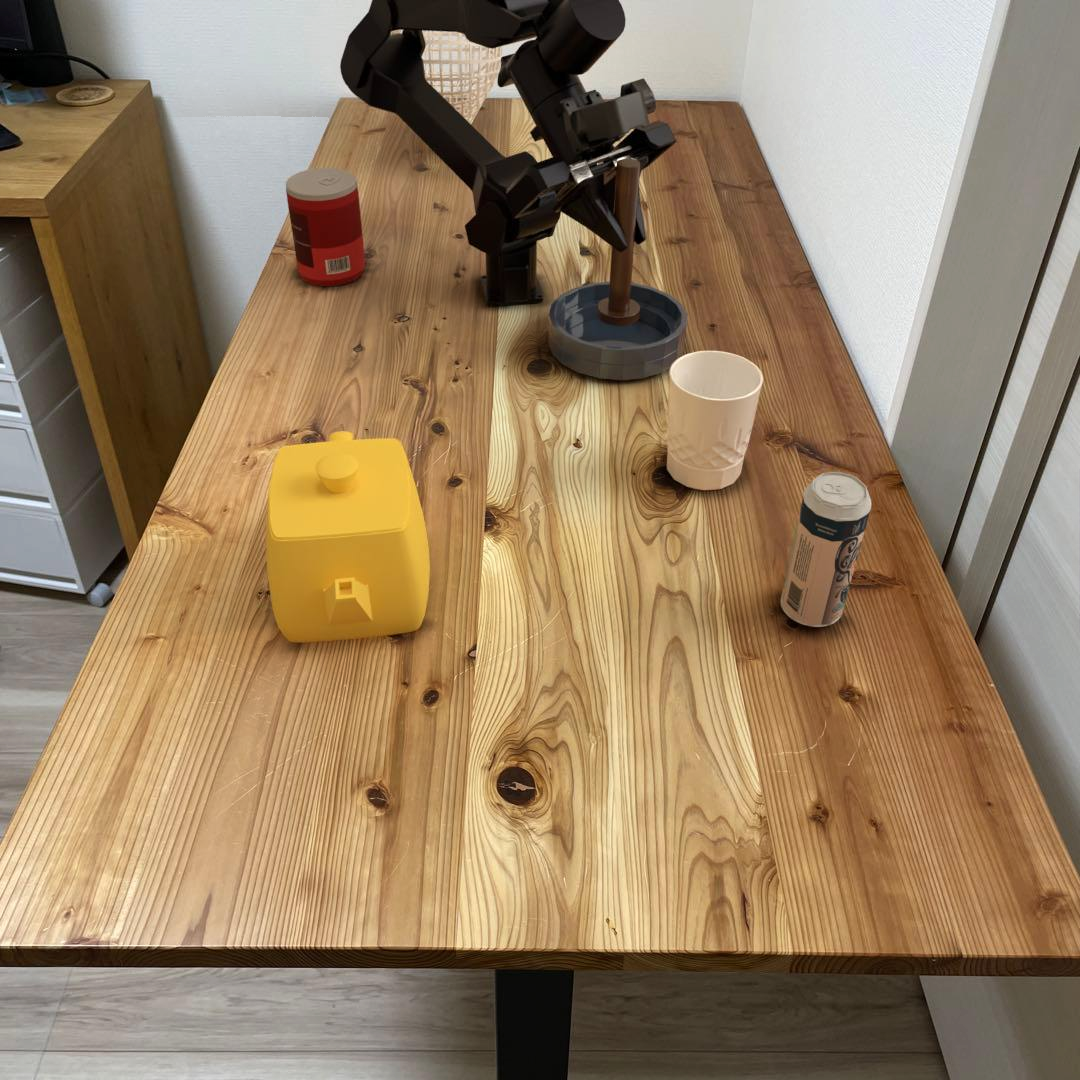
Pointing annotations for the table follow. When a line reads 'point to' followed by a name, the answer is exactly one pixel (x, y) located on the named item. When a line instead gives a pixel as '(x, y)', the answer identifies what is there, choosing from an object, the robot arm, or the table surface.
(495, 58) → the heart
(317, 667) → the table surface
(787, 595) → the beer can
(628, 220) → the stirring stick
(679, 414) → the white cup
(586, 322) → the bowl
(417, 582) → the teapot
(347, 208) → the canned food
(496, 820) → the table surface
